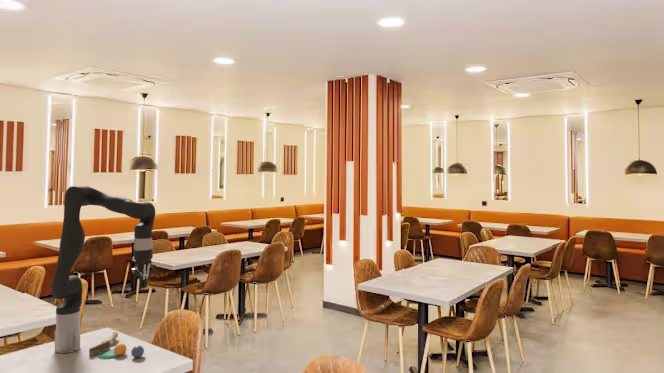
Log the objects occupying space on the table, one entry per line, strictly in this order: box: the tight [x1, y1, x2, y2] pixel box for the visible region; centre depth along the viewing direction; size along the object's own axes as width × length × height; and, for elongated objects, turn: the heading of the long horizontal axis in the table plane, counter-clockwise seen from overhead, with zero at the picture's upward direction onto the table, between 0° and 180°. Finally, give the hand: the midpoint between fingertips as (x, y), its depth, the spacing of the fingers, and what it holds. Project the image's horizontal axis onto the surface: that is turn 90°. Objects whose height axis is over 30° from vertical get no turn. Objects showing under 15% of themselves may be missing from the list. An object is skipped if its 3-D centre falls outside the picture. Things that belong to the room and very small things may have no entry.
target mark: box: [97, 348, 126, 360], centre depth 189 cm, size 11×11×1 cm
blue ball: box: [130, 345, 145, 359], centre depth 185 cm, size 5×5×5 cm
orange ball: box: [113, 342, 128, 357], centre depth 187 cm, size 5×5×5 cm
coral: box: [100, 331, 119, 346], centre depth 202 cm, size 6×10×4 cm, turn 10°
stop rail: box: [88, 341, 111, 358], centre depth 191 cm, size 1×10×4 cm, turn 163°
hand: (143, 287), depth 186 cm, fingers closed
